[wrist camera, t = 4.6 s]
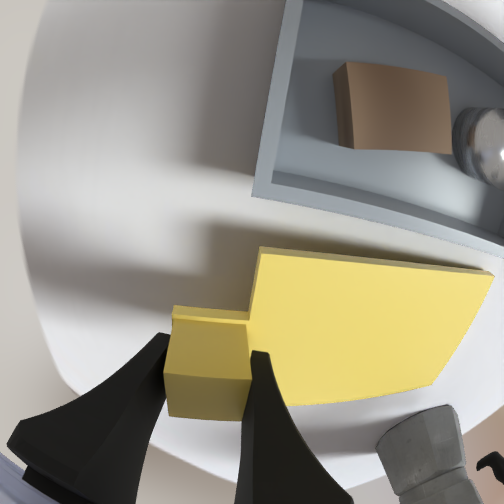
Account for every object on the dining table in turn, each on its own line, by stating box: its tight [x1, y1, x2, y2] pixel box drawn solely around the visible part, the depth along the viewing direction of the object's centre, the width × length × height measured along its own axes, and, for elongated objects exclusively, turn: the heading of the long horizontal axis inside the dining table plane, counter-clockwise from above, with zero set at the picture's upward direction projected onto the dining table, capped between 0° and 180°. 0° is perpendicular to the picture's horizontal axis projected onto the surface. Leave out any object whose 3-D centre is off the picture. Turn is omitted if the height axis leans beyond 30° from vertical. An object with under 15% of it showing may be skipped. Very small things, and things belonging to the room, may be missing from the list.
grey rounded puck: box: [452, 107, 504, 190], centre depth 8 cm, size 4×4×2 cm
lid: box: [163, 246, 495, 421], centre depth 11 cm, size 17×9×4 cm, turn 82°
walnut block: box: [332, 62, 452, 155], centre depth 8 cm, size 4×3×2 cm
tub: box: [251, 0, 504, 259], centre depth 8 cm, size 14×9×4 cm, turn 81°
